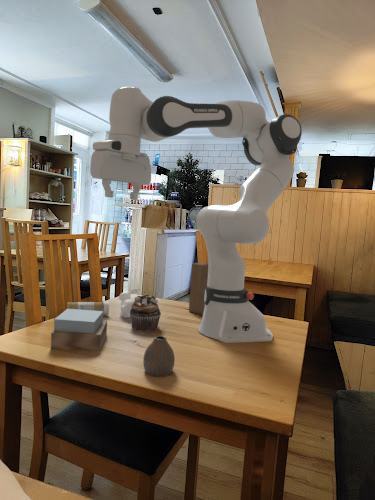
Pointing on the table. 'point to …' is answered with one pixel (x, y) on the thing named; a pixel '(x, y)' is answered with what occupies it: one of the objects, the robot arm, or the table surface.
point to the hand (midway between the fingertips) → (121, 198)
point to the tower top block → (78, 321)
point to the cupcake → (145, 313)
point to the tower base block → (79, 339)
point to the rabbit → (127, 302)
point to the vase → (159, 358)
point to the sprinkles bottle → (90, 306)
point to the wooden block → (198, 287)
